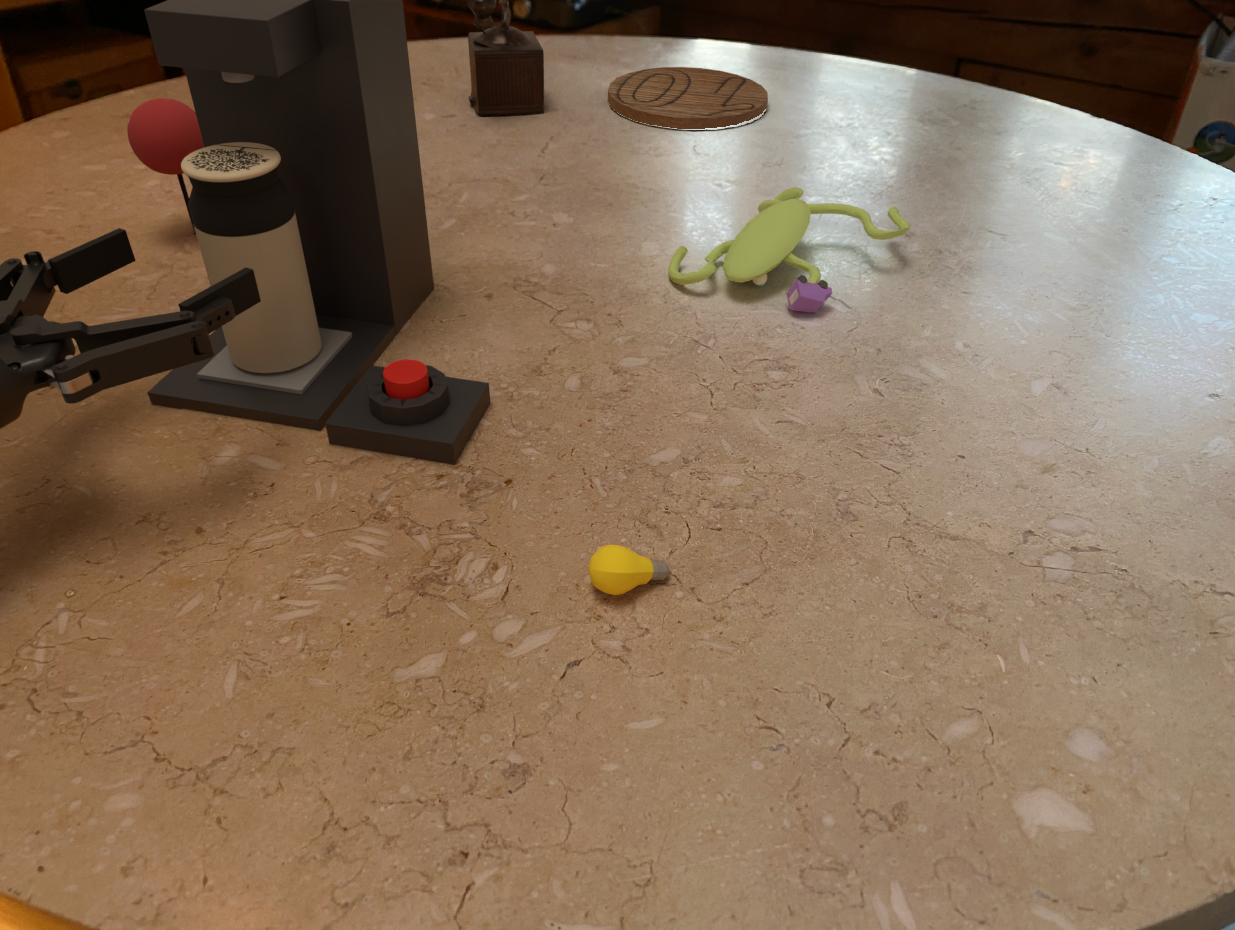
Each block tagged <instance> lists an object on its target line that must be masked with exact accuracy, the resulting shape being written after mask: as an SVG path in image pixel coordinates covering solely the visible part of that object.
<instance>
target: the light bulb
mask: <svg viewBox="0 0 1235 930" xmlns="http://www.w3.org/2000/svg"><path fill="white" fill-rule="evenodd" d="M670 572H671V569H670V566H668V565H667V563H666V562H665V561H664V560H651V559H650V558H649V557H646V556H642V555H640V554H638V553H637V552H635V551H634V550H632V549H630V548H628V547H626V546H622V545H619V544H605V545H603V546H601V547H599V548H598V549H597V550H596V551H595V552H594V553H593V555H592V556H591V558H590V560H589V563H588V576H589V579H590V581H591V584H592V585H593V586H594V587H595V588H596V590H598V591H600V592H602V593H605V594H607V595H613V596H619V595H623V594H626V593H627V592H629V591H631V590H633V589H635V588H637V587H638V586H641V585H647V584H648V583H649V582H650V581H664V580H665V579H667V577H668V575H670V574H671V573H670Z"/></svg>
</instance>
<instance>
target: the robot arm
mask: <svg viewBox="0 0 1235 930" xmlns="http://www.w3.org/2000/svg"><path fill="white" fill-rule="evenodd" d="M23 258H24V261H25V263H26V264H23V261H22V260H21V258H15V257H12V258H8V259H6V260H5V261H3V262H2V263H0V430H1V429H3V428H4V427H6V426H8V425H10V424H12V423H14V422H15V421H16V420H17V419H19V417H21V415H22V412H23V409H24V404H25V401H26V399H27V396H28V395H29V394H31V393H33V392H36V391H39V390H41V389H44V388H49V387H51V386H53V388H56V389H58V390H59V391H60V393H61V396H62V399H63V400H64V402H65V403H66V404H68V405H70V404H71V405H73V404H78V403H80V402H82V401H84V400H86V399H88V398H90V397H92V396H94V395H96V394H98V393H100V392H102V391H105V390H109V389H112V388H114V387H118V386H121V385H125V384H128V383H131V382H135V381H138V380H142V379H146V378H148V377H151V376H154V375H158V374H162V373H165V372H169V371H171V370H173V369H175V368H179V367H182V366H185V365H189V364H192V363H195V362H199V361H202V360H205V359H209V358H211V357H212V356H213V355H214V351H213V348H212V344H211V341H210V337H209V336H210V334H212V333H213V332H214V331H215V330H216V329H218V328H220V327H221V326H222V325H225V324H226V323H228V322H230V321H231V320H233V319H234V318H235V316H237V315H239V314H241V313H242V312H244V311H246V310H247V309H249V308H251V307H252V306H254V305H256V304H257V303H259V302H261V299H260V295H259V291H258V287H257V283H256V279H255V274H254V270H253V269H250V268H247V267H245V268H244V269H242V270H240V271H238V272H236V273H235V274H233V275H231V276H229V277H227V278H225V279H224V280H222V281H220V282H218V283H216V284H214V285H213V286H209V287H207V288H205V289H204V290H202V291H200V292H198V293H196V294H194V295H192V296H191V297H189V298H187V299H185V300H183V301H181V302H179V303H178V308H179V311H174V312H167V313H161V314H155V315H150V316H143V317H137V318H130V319H124V320H118V321H112V322H105V323H100V324H93V325H92V324H91V325H88V324H87V323H85V322H84V321H80V320H75V321H68V322H57V321H51V320H47V319H46V318H45V314H46V312H47V311H48V308H49V307H50V304H51V302H52V300H53V298H54V296H55V294H56V291H57V290H56V286H57V287H58V290H59V292H60V293H62V294H65V295H69V294H71V293H73V292H74V291H77V290H78V289H81V288H83V287H85V286H87V285H90V284H91V283H93V282H95V281H97V280H99V279H101V278H104V277H105V276H107V275H110V274H112V273H113V272H116V271H117V270H120V269H122V268H124V267H126V266H128V265H130V264H133V263H134V262H136V261H137V260H136V258H135V255H134V251H133V248H132V245H131V242H130V239H129V236H128V232H127V230H126V229H123V228H121V227H120V228H119V227H118V228H116V229H114V230H112V231H109V232H107V233H104V234H103V235H100V236H98V237H95V238H93V239H91V240H89V241H87V242H85V243H83V244H80V245H78V246H76V247H74V248H72V249H70V250H69V249H68V250H67V251H65V252H62V253H60V254H59V255H56V256H54V257H51V258H48V259H47V261H46V262H45V260H44V257H43V255H42V251H41V252H40V251H39V250H32V251H27V252H25V253H24V254H23ZM73 340H74V341H73ZM75 343H76V345H75ZM76 346H77V348H78V351H79V354H76V353H77V352H76Z"/></svg>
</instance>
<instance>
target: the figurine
mask: <svg viewBox="0 0 1235 930" xmlns="http://www.w3.org/2000/svg"><path fill="white" fill-rule="evenodd" d="M803 195H804V189H802V188H801V187H790V188H787V189H784V190H783V191H781V192H780V193H778V195H776V196H774V198H773V199H767V200H763V201H762V202H760V203H759V204H758V206H757V212H759V213H758V214H756V215H755V216H754V217H752V219H750V220H749V221H748V222H747V223H746V224H745V225H744V226H743V228H742V229H741V230H740V231H739V233H738V234H737V235H736V236H735V238H733V239H731V240H727V241H724V242H722V243H720V244H719V245H717V246H716V247H715V248H713V249H711V251H710V252H709V253H708V254H707V255H706V256H705V257H704V260H705V262H707V264H705V266H703V267H702V268H700V269H698V270H696V271H691V272H688V273H687V272H686V273H681V272H679V269H680V265H681V263H682V261H683V260H684V258H685V257H686V255H687V253H688V248H687V247H686V246H685V245H681V246H679V247H678V248H677V249H676V250H675V252H674V253H673V255H672V257H671V259H670V260H669V265H668V268H667V269H668V271H667V272H668V278H669V279H670V280H671V281H672V282H673V283H674V284H676V285H681V286H687V285H692V284H696V283H700V282H703V281H705V280H707V279H709V278H710V277H711V276H712V275H714V274H715V273H716V272H717V267H716V265H715V262H717V261H718V259H720V258H721V257H723V256H724V261H723V265H722V270H723V272H724V274H725V277H726V279H727V280H729V281H730V282H731V281H732V282H735V283H745V282H749V281H752V282H753V283H754V284H755V285H756V286H759V287H764V286H765V284H766V283H767V280H768V273H769V272H771V271H772V270H774V269H776V268H777V267H779V265H780V264H781V263H782V262H784V263H785V264H787V265H788V266H790V267H793V268H796V269H799V270H801V271H804V272H806V273H808V276H809V278H808V277H807V276H805V275H804V274H800V275H798V277H797V278H796V280H795V281H794V283H792V285H790V287H789V288H788V290H786V291H785V294H786V298H787V303H788V306H789V310H792V311H797V312H805V313H810V314H812V313H811V312H815V313H816V312H817V311H818V310H819V309H820V307H822V306H823V304H824V303H825V302H827V300H828V299H829V298H830V297H831V296H832V295H833V288H832V287H829V284H828V282H827V281H826V280H824V279H821V278H822V273H821V270H820V268H819V267H818V266H816V265H814V264H813V263H811V262H808V261H806V260H804V259H802V258H800V257H797V256H796V255H795V254H794V253H793V251H794V249H795V248H796V247H797V245H798V244H799V243H800V241H801V240H802V239H803V238H804V236H805V233H806V231H807V230H808V227H809V225H810V222H811V215H827V214H829V215H830V214H832V215H843V216H848V217H851V218H855V219H858V220H859V221H860V222H861V224H862V226H863V230H864V232H865V234H866V236H868V237H869V238H871V239H873V240H879V241H885V240H891V239H894V238H897V237H901V236H904V235H906V233H908V232H909V230H910V227H911V224H910V222H909V221H908V220H907V219H905V218H903V216H901V214H900V211H899V209H898V207H897V206H892V207H889V209H888V211H887V216H888V218H889V219H890V220H891V222H892V223H893V224H894V225H895V226H896V227H898V229H895V230H885V229H880V228H878V227H876V226H875V225H874V223H873V222H872V218H871V216H870V213H869V212H868V211H867V210H865V208H861V207H858V206H854V205H852V204H845V203H832V202H831V203H830V202H829V203H828V202H827V203H826V202H825V203H824V202H822V203H821V202H820V203H807V202H806V201H804V200H802V199H801V198H802V197H803Z"/></svg>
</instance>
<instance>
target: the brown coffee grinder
mask: <svg viewBox="0 0 1235 930" xmlns="http://www.w3.org/2000/svg"><path fill="white" fill-rule="evenodd" d="M466 3H467V6H468V8H469V9H470V11H471V12H472V14H473V15H474V18H473V19H474V20H473V21H472V24H473V26H475V27H476V29H481V31H475V32H473V31H471V32H468V35H467V40H468V41H467V42H468V54H469V55H468V57H469V59H468V60H469V72H470V85H471V86H470V87H471V88H470V89H471V91H470V95H469V96H468V102H469V103H470V104H471V106H472V107H473V109H474V112H475V113H476V114H478V115H479V116H483V115H485V116H486V117H487V116H488V117H495V116H494V115H498V116H497V117H501V116H500V115H506V116H516V115H515V114H529V115H538V114H537V113H540V114H544V112H545V107H544V106H545V105H544V103H545V55H544V54H545V52H544V49H543V47H542V45H541V44H540V42H539V39H538V38H537V37H536V34H535V32H534V31H533V30H530V31H529V30H520V29H518V28H517V27H514V26H510V23H511V21H512V15H511V14H512V13H511V9H510V5H509V4H510V2H509V0H498V4H499V5H500V21H498V22H494V20H493V18H492V13H493V12H494V10H495V8H496V7H497V0H467V2H466ZM485 116H484V117H485Z"/></svg>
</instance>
